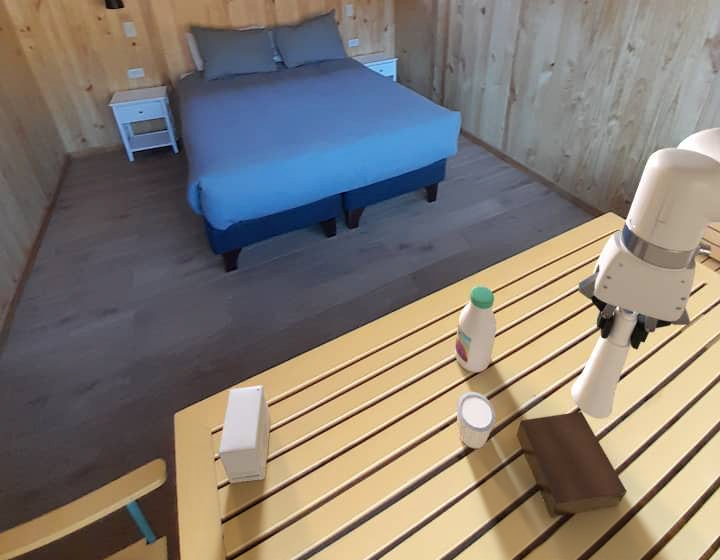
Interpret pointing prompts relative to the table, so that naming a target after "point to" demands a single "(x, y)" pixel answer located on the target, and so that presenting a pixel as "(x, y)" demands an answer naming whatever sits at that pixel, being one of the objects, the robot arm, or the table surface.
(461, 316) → the milk bottle
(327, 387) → the table surface
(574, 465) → the block
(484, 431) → the white yogurt cup
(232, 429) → the cosmetics box
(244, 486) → the table surface
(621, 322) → the cosmetic bottle
